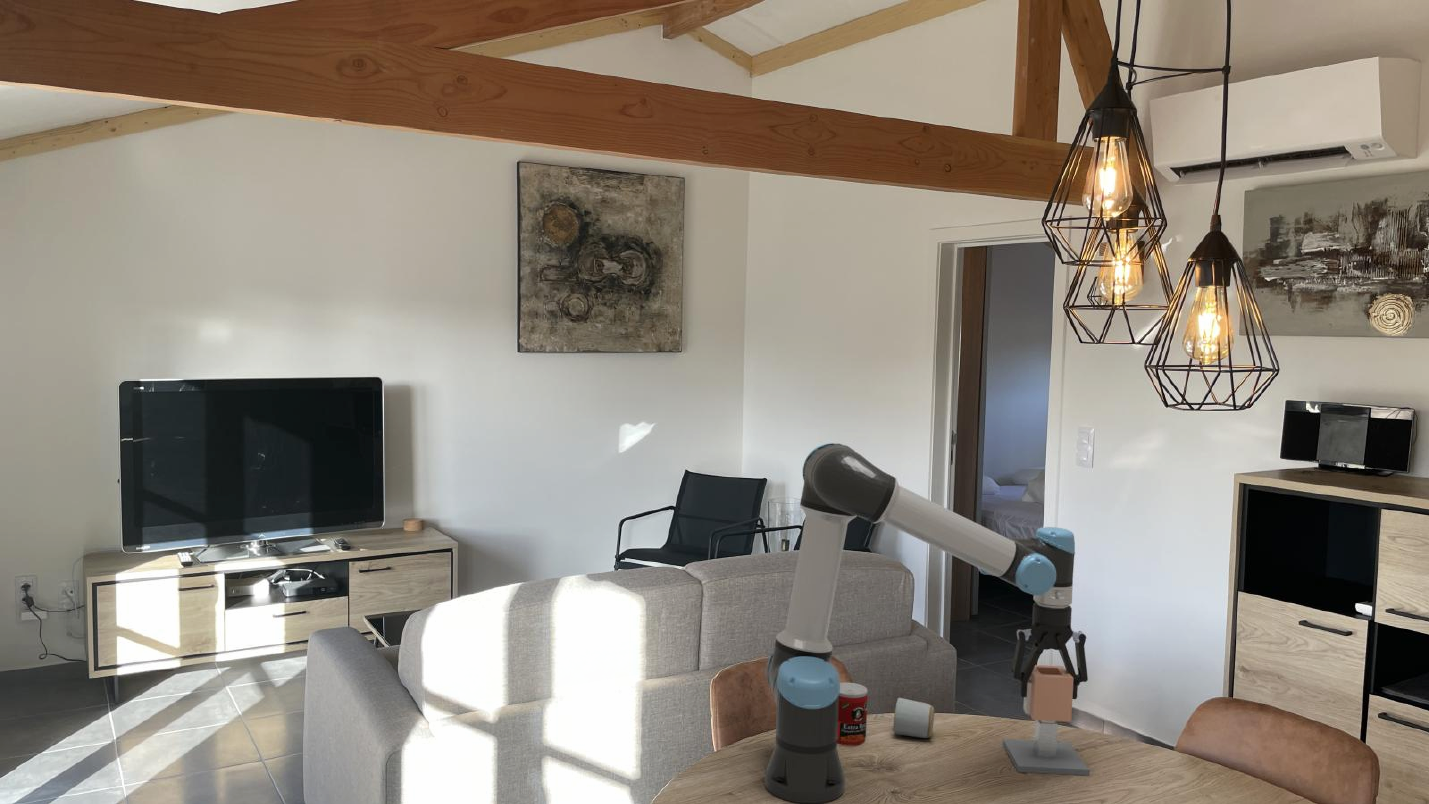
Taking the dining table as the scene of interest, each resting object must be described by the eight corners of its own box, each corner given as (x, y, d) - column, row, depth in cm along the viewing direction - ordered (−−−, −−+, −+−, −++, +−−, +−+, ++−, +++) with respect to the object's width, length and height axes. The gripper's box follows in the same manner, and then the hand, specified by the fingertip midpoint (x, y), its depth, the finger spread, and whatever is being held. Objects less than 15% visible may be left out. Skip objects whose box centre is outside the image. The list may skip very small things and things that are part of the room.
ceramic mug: (931, 744, 219) (932, 708, 219) (892, 738, 222) (893, 703, 221) (934, 727, 230) (936, 693, 229) (897, 722, 232) (899, 688, 231)
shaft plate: (1018, 771, 206) (1018, 766, 206) (1002, 744, 220) (1002, 739, 220) (1089, 775, 206) (1089, 769, 206) (1069, 747, 220) (1069, 742, 219)
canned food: (840, 747, 216) (842, 696, 215) (823, 733, 223) (825, 684, 223) (872, 743, 219) (874, 692, 218) (854, 729, 226) (856, 680, 226)
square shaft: (1038, 756, 211) (1040, 717, 211) (1033, 749, 215) (1035, 711, 214) (1056, 757, 211) (1058, 718, 210) (1051, 750, 215) (1053, 712, 214)
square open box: (1033, 720, 209) (1035, 676, 208) (1024, 706, 216) (1025, 664, 216) (1071, 721, 208) (1073, 678, 208) (1060, 708, 216) (1062, 666, 215)
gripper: (1005, 606, 208) (1000, 717, 209) (1109, 610, 207) (1103, 722, 208) (997, 597, 215) (993, 704, 217) (1097, 601, 214) (1092, 708, 215)
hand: (1047, 712), depth 212 cm, fingers closed on square open box, 8 cm apart
